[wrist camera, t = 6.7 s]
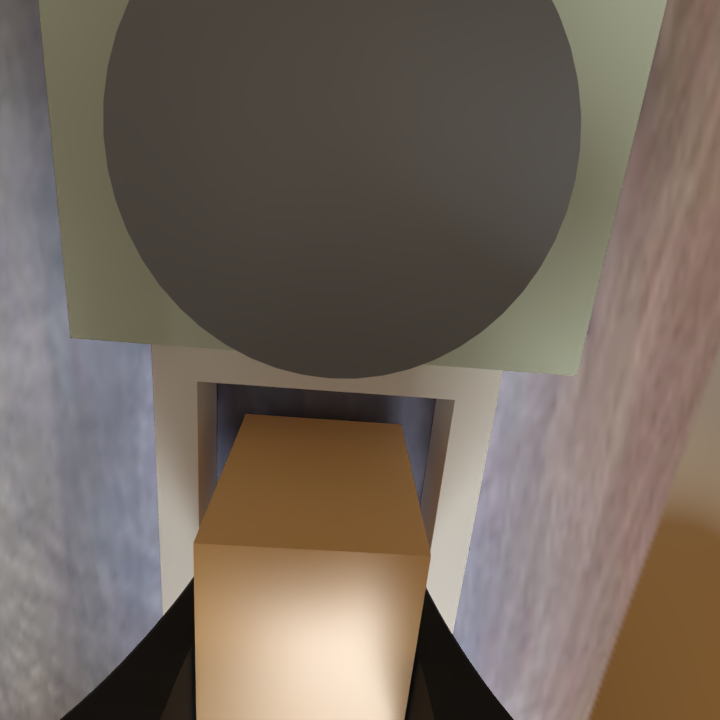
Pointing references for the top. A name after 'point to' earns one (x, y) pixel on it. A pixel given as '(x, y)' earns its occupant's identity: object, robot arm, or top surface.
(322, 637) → the chute block
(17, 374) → the top surface
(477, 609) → the top surface
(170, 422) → the green base with dome
